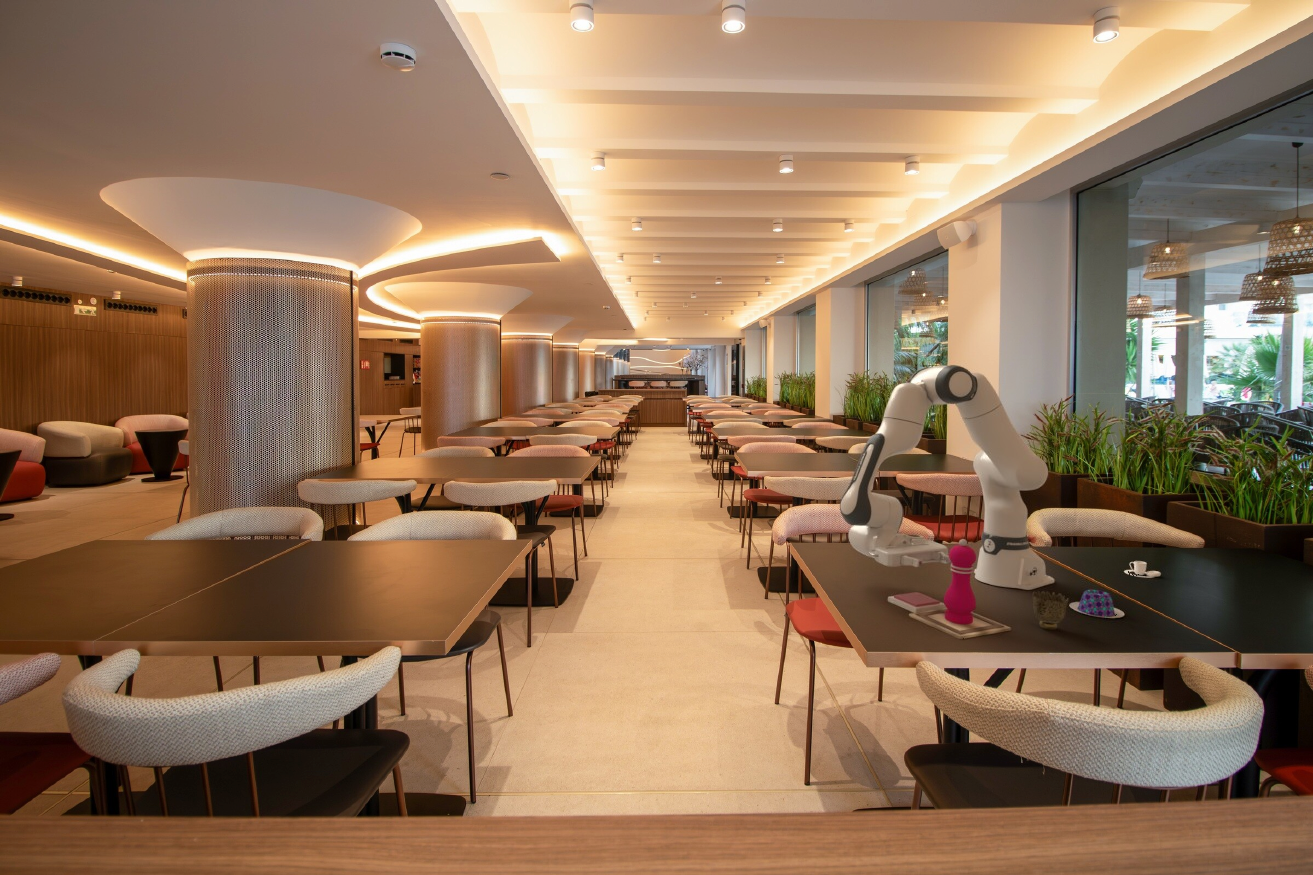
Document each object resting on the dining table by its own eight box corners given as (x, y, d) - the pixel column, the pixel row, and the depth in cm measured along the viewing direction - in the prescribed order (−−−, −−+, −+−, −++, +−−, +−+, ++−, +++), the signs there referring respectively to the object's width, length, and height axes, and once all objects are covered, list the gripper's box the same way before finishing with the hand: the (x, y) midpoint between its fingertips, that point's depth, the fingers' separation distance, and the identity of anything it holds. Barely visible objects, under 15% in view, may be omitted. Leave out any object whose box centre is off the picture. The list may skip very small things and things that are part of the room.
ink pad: (916, 597, 186) (917, 590, 186) (945, 608, 177) (945, 602, 177) (887, 601, 182) (888, 594, 182) (915, 613, 173) (915, 606, 173)
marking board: (957, 608, 177) (957, 605, 177) (1010, 630, 162) (1010, 627, 162) (909, 616, 171) (909, 613, 171) (959, 639, 156) (960, 635, 156)
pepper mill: (974, 617, 169) (979, 537, 167) (975, 627, 162) (980, 544, 161) (942, 613, 172) (947, 534, 170) (942, 622, 165) (947, 540, 163)
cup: (1071, 634, 160) (1073, 601, 159) (1036, 632, 162) (1038, 598, 161) (1059, 623, 167) (1061, 591, 167) (1026, 621, 169) (1028, 589, 168)
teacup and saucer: (1164, 578, 210) (1165, 565, 209) (1146, 580, 207) (1148, 567, 206) (1135, 570, 218) (1136, 558, 217) (1118, 572, 215) (1119, 560, 214)
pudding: (1097, 603, 184) (1098, 584, 184) (1136, 619, 172) (1137, 599, 172) (1058, 605, 182) (1059, 586, 181) (1094, 621, 170) (1096, 601, 170)
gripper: (865, 540, 182) (902, 553, 169) (924, 534, 190) (964, 546, 177) (864, 563, 182) (901, 578, 170) (923, 557, 190) (963, 570, 178)
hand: (934, 562), depth 174 cm, fingers open, 8 cm apart
